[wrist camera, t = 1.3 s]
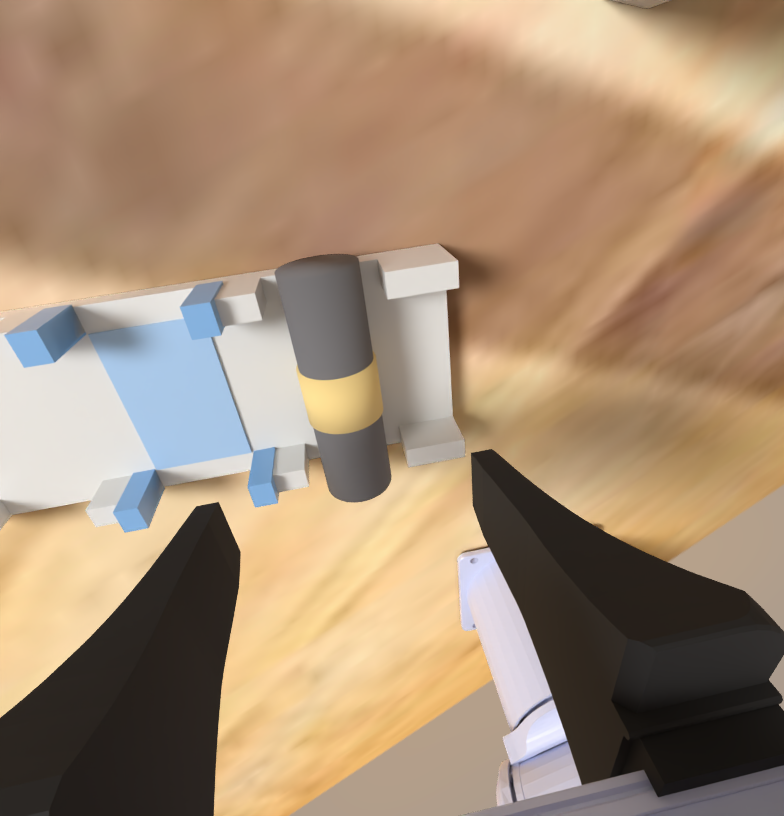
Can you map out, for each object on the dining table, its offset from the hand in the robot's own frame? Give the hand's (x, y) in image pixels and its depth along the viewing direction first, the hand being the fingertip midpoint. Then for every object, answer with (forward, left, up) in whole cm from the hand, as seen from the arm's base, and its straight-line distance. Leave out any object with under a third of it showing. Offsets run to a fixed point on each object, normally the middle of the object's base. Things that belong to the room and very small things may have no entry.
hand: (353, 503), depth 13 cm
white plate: (+7, 0, -9) cm, 12 cm away
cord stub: (0, 0, -8) cm, 8 cm away
